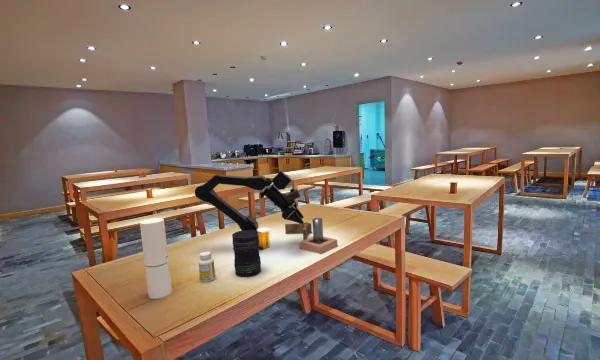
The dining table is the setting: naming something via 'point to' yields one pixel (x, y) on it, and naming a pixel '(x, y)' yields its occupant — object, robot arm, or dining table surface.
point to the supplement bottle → (206, 267)
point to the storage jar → (246, 253)
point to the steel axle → (317, 230)
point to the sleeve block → (318, 245)
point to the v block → (299, 229)
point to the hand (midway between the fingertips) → (303, 220)
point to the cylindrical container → (156, 257)
